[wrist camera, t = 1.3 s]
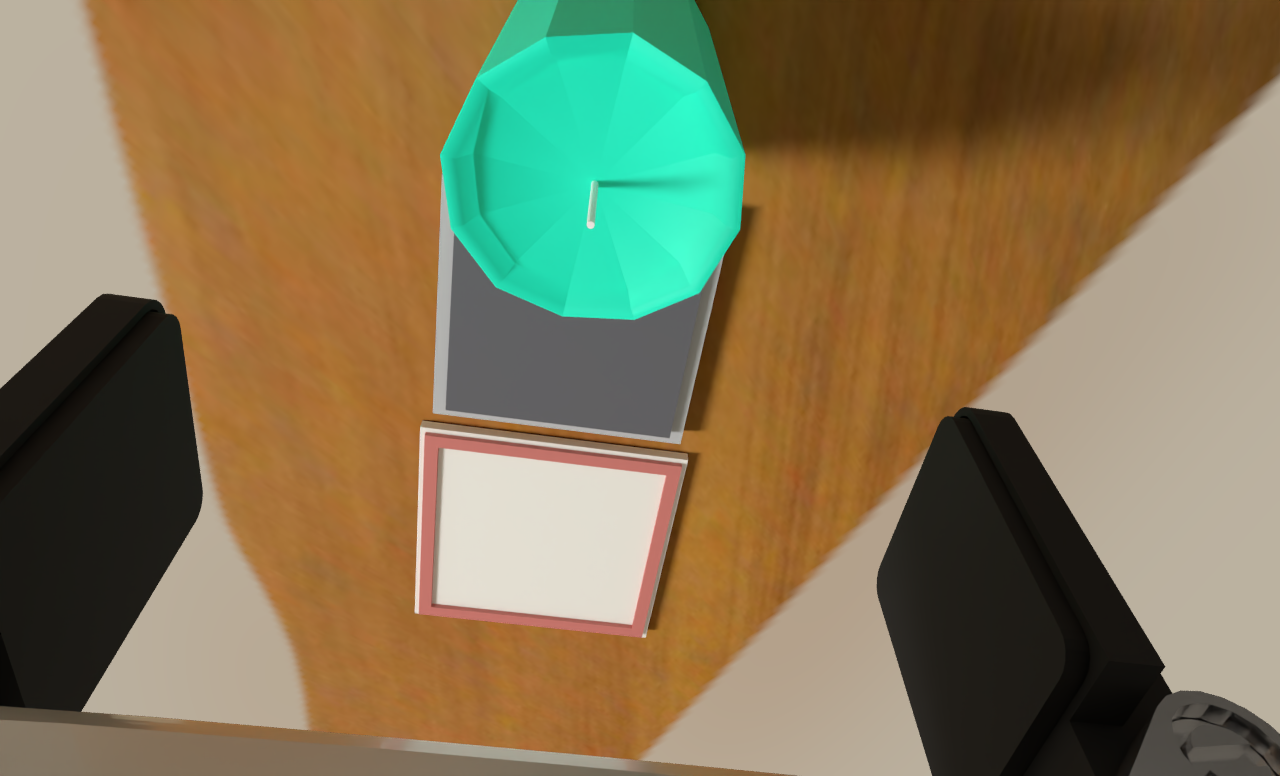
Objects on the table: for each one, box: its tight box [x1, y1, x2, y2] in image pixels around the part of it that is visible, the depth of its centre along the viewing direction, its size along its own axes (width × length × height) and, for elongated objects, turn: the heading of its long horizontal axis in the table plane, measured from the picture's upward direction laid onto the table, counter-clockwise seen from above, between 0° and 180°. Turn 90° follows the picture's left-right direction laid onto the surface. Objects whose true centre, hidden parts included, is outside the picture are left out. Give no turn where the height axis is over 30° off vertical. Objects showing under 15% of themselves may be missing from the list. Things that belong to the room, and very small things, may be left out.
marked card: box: [415, 421, 688, 637], centre depth 37 cm, size 10×10×1 cm
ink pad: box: [433, 173, 724, 444], centre depth 30 cm, size 9×9×1 cm
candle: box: [440, 0, 745, 320], centre depth 21 cm, size 6×6×12 cm
